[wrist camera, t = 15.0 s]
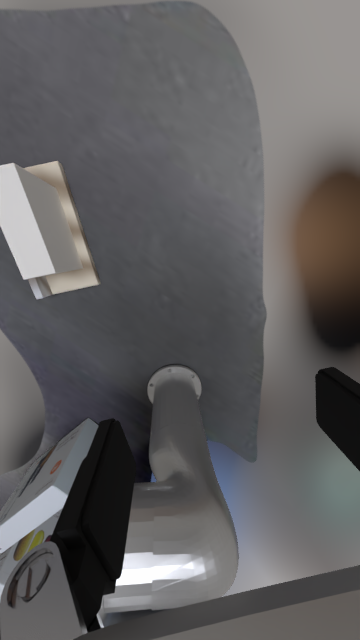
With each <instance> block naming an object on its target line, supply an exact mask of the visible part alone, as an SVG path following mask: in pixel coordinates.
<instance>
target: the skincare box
mask: <svg viewBox="0 0 360 640" xmlns="http://www.w3.org/2000/svg"><path fill="white" fill-rule="evenodd" d="M97 428H98V425H97V424H96V423H95V422H94V421H92V420H91V419H89V418H87V419H86V420H85V421H83V422H82V423H81V424H80V425H79V426H77V427H76V428H75V429H74V430H72V431H71V432H70V433H69V434H68V435H66V436H65V437H64V438H63V439H62V440H60V441H59V442H58V443H57V444H55V445H54V446H53V447H52V448H51V449H49V450H48V451H47V452H46V453H45V454H43V455H42V456H41V457H40V458H38V459H37V460H36V461H35V462H34V463H33V464H32V466H31V467H30V468H29V470H28V471H27V473H26V474H25V476H24V477H23V479H22V480H21V482H20V483H19V485H18V486H17V488H16V489H15V491H14V492H13V494H12V495H11V497H10V498H9V500H8V501H7V502H6V504H5V505H4V507H3V508H2V510H1V511H0V553H3V552H4V551H5V550H7V549H8V548H9V547H11V546H12V545H14V544H15V543H16V542H18V541H19V540H20V539H22V538H23V537H24V536H26V535H27V534H28V533H30V532H31V531H32V530H34V529H35V528H36V527H38V526H39V525H40V524H42V523H43V522H44V521H46V520H47V519H49V518H50V517H51V516H53V515H54V514H55V513H57V512H58V511H59V510H61V509H62V508H63V507H64V504H65V502H66V499H67V497H68V494H69V492H70V489H71V487H72V484H73V482H74V479H75V477H76V475H77V472H78V470H79V467H80V465H81V463H82V461H83V459H84V458H85V457H86V456H87V454H88V451H89V449H90V446H91V444H92V441H93V438H94V436H95V433H96V431H97Z"/></svg>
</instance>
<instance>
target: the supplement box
mask: <svg viewBox="0 0 360 640" xmlns="http://www.w3.org/2000/svg"><path fill="white" fill-rule="evenodd" d="M62 509H63V508H62ZM62 509H61V510H59V511H58V512H57V513H55V514H54V515H53V516H51V517H50V518H49V519H47V520H46V521H44V522H43V523H42V524H40V525H39V526H38V527H36V528H35V529H34V530H32V531H31V532H30V533H28V534H27V535H26V536H24V537H23V538H22V539H20V540H19V541H18V542H16V543H15V544H14V545H12V546H11V547H9V548H8V549H7V550H5V551H4V552H3V553H0V599H1V594H2V591H3V588H4V586H5V583H6V581H7V579H8V578H9V576H10V574H11V572H12V571H13V569H14V568H15V566H16V565H17V564H18V562H19V561H20V560H21V559H22V558H23V557H24V556H25V555H26V554H27V553H28V552H29V551H30V550H31V549H33V548H34V547H35V546H37V545H39V544H41V543H43V542H48V541H50V538H51V536H52V534H53V531H54V529H55V526H56V524H57V521H58V519H59V516H60V514H61V511H62Z"/></svg>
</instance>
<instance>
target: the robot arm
mask: <svg viewBox="0 0 360 640" xmlns="http://www.w3.org/2000/svg"><path fill="white" fill-rule="evenodd" d="M315 378H316V419H317V423H318V424H319V426H320V428H321V429H322V430H323V431H324V432H325V433H326V434H327V435H328V437H329V438H330V439H331V440H332V441H333V442H334V443H335V444H336V446H337V447H338V448H339V449H340V450H341V451H342V452H343V453H344V454H345V455H346V457H347V458H348V459H349V460H350V461H351V462H352V463H353V464H354V465H355V466H356V468H357V469H358V470H359V471H360V384H359V383H357V382H356V381H354V380H353V379H351V378H350V377H348V376H347V375H345V374H344V373H342V372H341V371H339V370H338V369H336V368H334V367H330V368H325V369H321V370H319V371H318V374H316V377H315ZM201 390H202V388H201V382H200V379H199V377H198V375H197V374H196V373H195V372H194V371H193V370H192V369H190V368H188V367H186V366H183V365H168V366H165V367H162V368H160V369H159V370H157V371H156V372H155V373H154V374H153V375H152V376H151V378H150V380H149V383H148V388H147V393H148V397H149V399H150V401H151V403H152V404H153V409H152V421H151V433H150V445H149V462H150V466H151V469H152V472H153V474H154V476H155V478H156V480H157V481H156V482H149V483H134V482H135V474H136V463H135V460H134V457H133V455H132V452H131V450H130V447H129V445H128V442H127V440H126V437H125V435H124V432H123V430H122V427H121V425H120V422H119V421H115V419H114V418H112V419H108V420H104V421H101V422H100V423H99V426H98V428H97V431H96V433H95V436H94V438H93V441H92V444H91V446H90V449H89V451H88V454H87V456H86V457H85V458H84V459H83V461H82V463H81V465H80V467H79V470H78V472H77V475H76V477H75V479H74V482H73V484H72V487H71V489H70V492H69V494H68V497H67V499H66V502H65V504H64V507H63V509H62V511H61V514H60V516H59V519H58V521H57V524H56V526H55V529H54V531H53V534H52V536H51V538H50V541H48V542H43V543H41V544H39V545H37V546H35V547H34V548H33V549H31V550H30V551H29V552H28V553H27V554H26V555H25V556H24V557H23V558H22V559H21V560H20V561H19V562H18V564H17V565H16V566H15V568H14V569H13V571H12V572H11V574H10V576H9V578H8V579H7V581H6V583H5V586H4V588H3V591H2V594H1V599H0V640H360V565H358V566H354V567H349V568H345V569H341V570H337V571H332V572H328V573H324V574H319V575H315V576H311V577H306V578H302V579H298V580H293V581H289V582H284V583H280V584H276V585H271V586H267V587H263V588H258V589H254V590H250V591H246V592H241V593H237V594H233V595H229V596H225V597H222V596H223V595H224V594H225V593H226V592H227V591H228V590H229V589H230V587H231V586H232V584H233V582H234V580H235V577H236V573H237V569H238V559H239V554H238V542H237V536H236V532H235V527H234V523H233V520H232V517H231V514H230V511H229V509H228V506H227V503H226V501H225V498H224V496H223V493H222V491H221V489H220V486H219V483H218V481H217V478H216V475H215V472H214V468H213V465H212V462H211V457H210V453H209V449H208V445H207V440H206V435H205V431H204V426H203V422H202V417H201V413H200V408H199V403H198V399H199V398H200V395H201Z"/></svg>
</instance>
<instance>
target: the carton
mask: <svg viewBox="0 0 360 640" xmlns="http://www.w3.org/2000/svg"><path fill="white" fill-rule="evenodd" d="M0 226H1V229H2V231H3V233H4V235H5V238H6V240H7V242H8V245H9V247H10V249H11V252H12V254H13V256H14V258H15V261H16V263H17V265H18V268H19V270H20V272H21V275H22V277H23V279H24V280H25V279H30V278H36V277H41V276H47V275H52V274H58V273H63V272H68V271H72V270H77V269H82V268H83V266H82V263H81V260H80V257H79V254H78V251H77V248H76V245H75V242H74V239H73V236H72V233H71V230H70V228H69V225H68V222H67V219H66V216H65V213H64V210H63V207H62V204H61V201H60V198H59V195H58V192H57V189H56V188H55V187H53V186H51V185H50V184H48V183H46V182H45V181H43V180H41V179H40V178H38V177H36V176H35V175H33V174H31V173H30V172H28V171H26V170H25V169H23V168H21V167H20V166H18V165H16V164H15V163H10V164H6V165H1V166H0Z"/></svg>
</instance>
